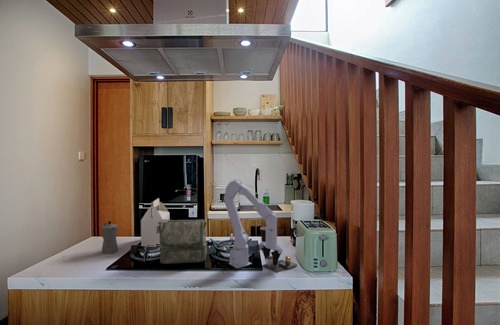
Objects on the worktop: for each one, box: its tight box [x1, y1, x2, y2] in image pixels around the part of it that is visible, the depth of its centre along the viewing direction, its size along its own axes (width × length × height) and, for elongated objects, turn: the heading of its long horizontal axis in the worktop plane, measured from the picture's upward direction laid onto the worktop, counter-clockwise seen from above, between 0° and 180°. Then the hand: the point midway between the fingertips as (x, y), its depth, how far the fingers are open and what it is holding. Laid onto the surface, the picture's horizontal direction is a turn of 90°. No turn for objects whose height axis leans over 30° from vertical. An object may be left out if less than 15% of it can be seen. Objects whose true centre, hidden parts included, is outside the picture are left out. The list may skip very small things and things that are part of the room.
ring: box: [265, 255, 277, 267], centre depth 145 cm, size 6×6×4 cm
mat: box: [262, 259, 288, 274], centre depth 143 cm, size 14×11×1 cm
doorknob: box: [279, 255, 298, 270], centre depth 144 cm, size 6×6×5 cm
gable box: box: [140, 197, 171, 246], centre depth 184 cm, size 22×13×28 cm, turn 6°
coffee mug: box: [259, 226, 266, 242], centre depth 182 cm, size 12×9×10 cm
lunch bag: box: [157, 219, 208, 265], centre depth 155 cm, size 26×18×22 cm
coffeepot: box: [100, 220, 119, 255], centre depth 167 cm, size 15×9×18 cm, turn 44°
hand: (271, 263), depth 145 cm, fingers closed on ring, 6 cm apart
